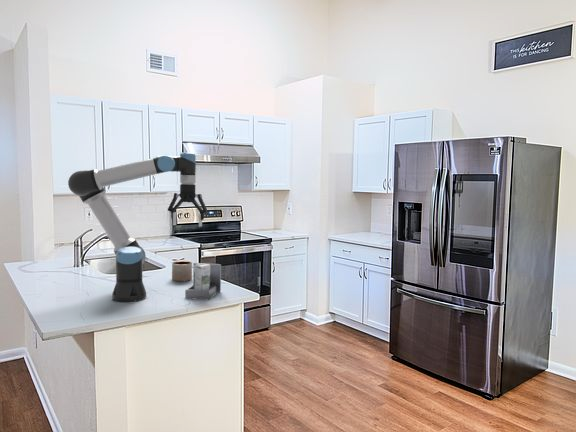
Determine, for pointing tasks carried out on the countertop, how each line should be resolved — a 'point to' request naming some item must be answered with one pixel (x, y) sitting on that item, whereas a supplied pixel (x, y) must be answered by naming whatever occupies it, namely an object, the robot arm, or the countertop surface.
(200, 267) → the syrup box
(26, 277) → the countertop surface
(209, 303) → the countertop surface
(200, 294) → the bracket
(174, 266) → the planter
